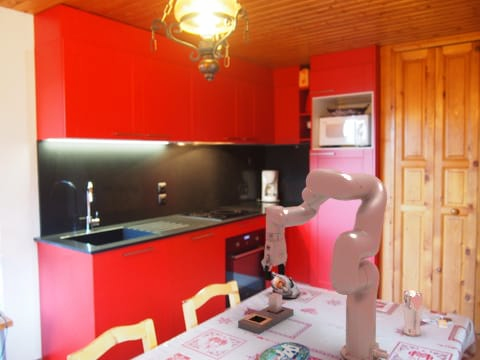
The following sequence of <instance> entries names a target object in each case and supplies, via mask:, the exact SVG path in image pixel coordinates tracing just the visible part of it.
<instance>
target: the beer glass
mask: <svg viewBox="0 0 480 360" xmlns="http://www.w3.org/2000/svg"><path fill="white" fill-rule="evenodd" d="M402 292H403V294H402V301H401V302H402V313H403V317H404V325H403V333H404V334H405V335H407V336H410V337H420V336H422V331H421V320H422V315H423V308H424V307H423V304H424V301H423V294H422V292H419V291H416V290H404V291H402Z"/></svg>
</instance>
